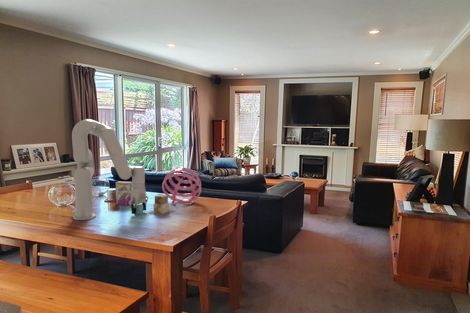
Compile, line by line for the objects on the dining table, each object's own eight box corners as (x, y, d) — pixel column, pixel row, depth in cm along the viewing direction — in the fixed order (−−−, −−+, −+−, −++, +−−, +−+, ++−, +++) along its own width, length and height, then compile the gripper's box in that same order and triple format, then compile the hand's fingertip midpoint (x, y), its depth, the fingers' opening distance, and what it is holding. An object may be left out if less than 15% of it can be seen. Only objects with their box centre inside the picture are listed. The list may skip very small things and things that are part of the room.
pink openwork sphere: (189, 182, 212) (195, 156, 233) (151, 190, 218) (160, 164, 239) (204, 210, 229) (208, 183, 250) (168, 216, 235) (175, 190, 256)
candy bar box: (115, 205, 228) (115, 182, 227) (118, 203, 233) (118, 181, 232) (130, 205, 227) (130, 182, 226) (133, 204, 232) (133, 181, 231)
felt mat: (145, 213, 207) (145, 213, 207) (158, 208, 220) (158, 208, 220) (163, 216, 202) (163, 216, 202) (176, 211, 215) (176, 210, 215)
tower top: (154, 203, 209) (154, 196, 208) (160, 201, 214) (160, 194, 214) (162, 204, 206) (162, 196, 206) (167, 202, 212) (167, 195, 211)
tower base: (153, 212, 209) (153, 203, 208) (160, 210, 215) (160, 201, 215) (162, 214, 206) (162, 204, 206) (168, 211, 213) (168, 202, 212)
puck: (132, 215, 204) (132, 205, 204) (138, 213, 209) (138, 204, 208) (139, 216, 202) (139, 206, 202) (144, 214, 207) (144, 204, 206)
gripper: (142, 183, 213) (143, 208, 215) (124, 187, 197) (124, 214, 199) (152, 183, 210) (152, 209, 212) (134, 188, 194) (134, 216, 196)
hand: (138, 212), depth 205 cm, fingers open, 9 cm apart
